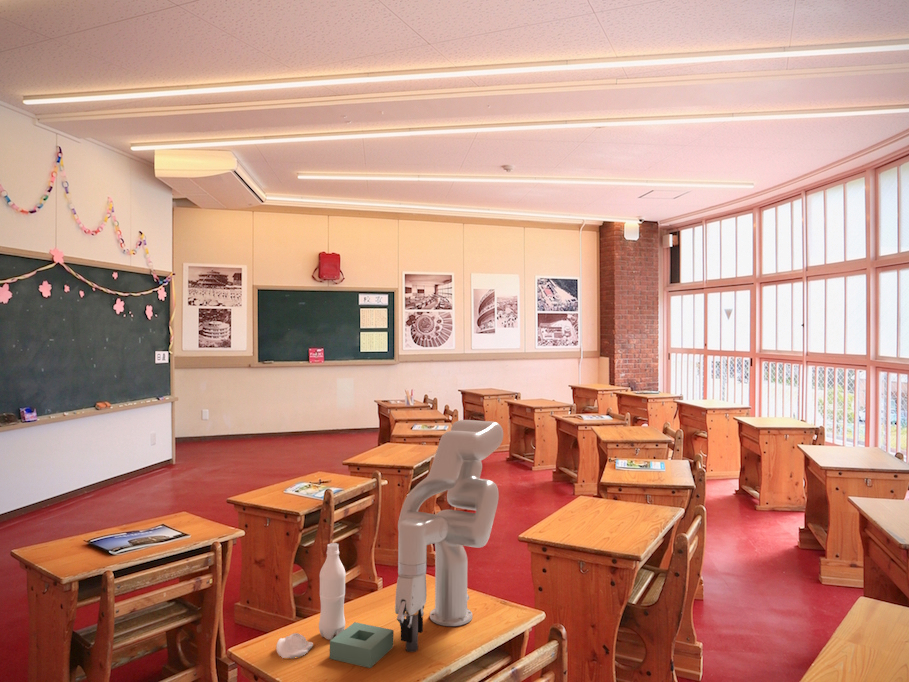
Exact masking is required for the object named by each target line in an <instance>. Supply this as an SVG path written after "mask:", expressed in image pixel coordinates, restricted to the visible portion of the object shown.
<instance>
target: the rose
mask: <svg viewBox="0 0 909 682" xmlns="http://www.w3.org/2000/svg"><path fill="white" fill-rule="evenodd" d="M313 646H314V643H313V642H312V641H308V640H307V639H306V637H305V636H304V635H303V634H300V633H297V632H295V633H291V634H290V635H289V636H288V635H287V636H285V637H280V638H279V639H278V641H277V643H276V646H275V647H276V649H275V650H276V653H277V654H278V656H279V657H280V656H281V657H282V658H281V657H280V658H281V659H283V658H290V659H296V658H295V657H298V658H301V657H300V656H302V657H304V656H306V655H307V654H308V652H309V651H310V650H311V649H312V648H313ZM306 653H307V654H306ZM305 654H306V655H305ZM303 655H304V656H303Z"/></svg>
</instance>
